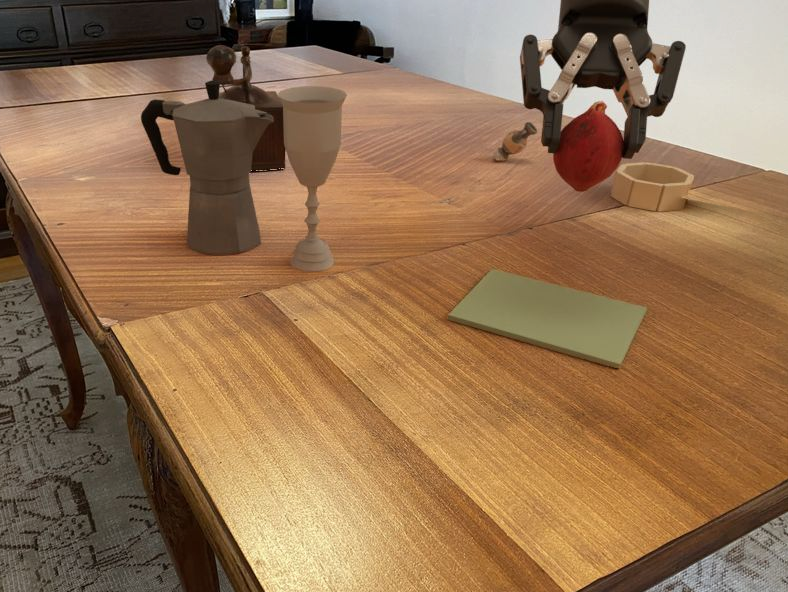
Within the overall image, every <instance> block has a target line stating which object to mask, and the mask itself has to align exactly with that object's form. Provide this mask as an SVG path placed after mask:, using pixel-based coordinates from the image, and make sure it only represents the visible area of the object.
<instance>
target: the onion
mask: <svg viewBox="0 0 788 592" xmlns="http://www.w3.org/2000/svg"><path fill="white" fill-rule="evenodd" d="M607 108H608V105H607V104H606V103H605V101H603V100H598V101H595V102H594V103H593V104H592V105H590V106H589V108H588V109H587V110H586V111H584V112H583V113H581V114H579V115H577V116H576V117H574V118H573V119H571V121H570V122H569V123H568V124H566V125H565V126H563V128H561V136H560V143H559V147H558V149H557V152H556V154H555V153H552V155H553V156H552V157H553V158H552V159H553V164H554V168H555V172H557V174H558V175H559V177H560V178H561V179H562V180H563V181H564V182H565V183H566V184H567V185H568V186H570V187H571V188H572V189H573V190H574V191H576V192H579V193H585V192H587V191H588V190H590V189H591V188H593V187H594V186H597V185H598V184H601V183H602V182H604V181H606V180H607V179H609V178H610V177H611V176H612V174H614V172H616V171H617V170H618V168H619V167H620V164H621V161H622V160H623V158H622V154H623V149H624V141H623V140H624V136H623V134H622V132H621V130H620V128H619V127H618V125H617V124H616V122H615V121H614V120H613V119H612V118H611V117H610V116H609V115H607V114H606V109H607Z"/></svg>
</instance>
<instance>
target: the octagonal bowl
mask: <svg viewBox="0 0 788 592" xmlns="http://www.w3.org/2000/svg"><path fill="white" fill-rule="evenodd" d="M694 179H695V175H693V174H692V173H689V172H688V171H685V170H684V169H682V168H679V167H678V166H677V167H676V166H673V165H666V164H661V163H654V162H648V161H647V162H643V161H642V162H630V163H623V164H621V165H619V166H618V167H617V169H616V170H615V173H614V178H613V181H612V187H611V191H610V197H611V198H613V199H614V200H616V201H618V202H619V203H621V204H622V205H624V206H627V207H631V208H636V209H641V210H645V211H650V212H651V211H652V212H659V213H660V212H661V213H662V212H669V211H670V212H671V211H682V210H684V208H685V207H686V205H687V203H688V201H689V199H688V198H684V197H686V196H688V195H689V194H690V191H691V189H692V187H693V183H694Z"/></svg>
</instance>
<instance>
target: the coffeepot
mask: <svg viewBox="0 0 788 592" xmlns="http://www.w3.org/2000/svg"><path fill="white" fill-rule="evenodd" d="M204 86H205V89H206V93H207V96H208V98H205V99H200V100H198V101H192V102H189V103H184V102H182V101H179V100H164V99H157V98H156V99H151V100H150V101H149V102H148V103H147V105H146V106H145V108H144V109H143V111H142V112H141V113H140V114H141V115H140V121H141V124H142V127H143V129H144V131H145V133H146V135H147V138H148V141H149V143H150V146H151V147H152V149H153V152H154V154H155V157H156V160H157V161H158V164H159V166H160V168H161V171H162V172H163V173H164V174H166V175H170V176H178V175H180V173H181V170H182V167H178V166H175V165H173V164H171V162H170V157H169V152H168V148H167V146H166V144H165V142H164V141H163V136H162V133H161V129H160V126H159V124H158V122H157V119H158V118H162V119H165V120H169V121H172V122H174V127H175V131H176V135H177V140H178V144H179V147H180V151H181V156H182V160H183V163H184V164H183V165H184V167H185V171H186V172H185V173H186V175H188V176H189V185H190V186H189V195H188V196H189V197H188V213H187V215H188V217H187V233H186V246H187V247H188V248H190V249H192V250H193V251H195V252H197V253H200V254H204V255H208V256H209V255H211V256H231V255H236V254H241V253H245V252H248V251H250V250H253V249H254V248H255V247H257V246H258V245H259V244H260V243H261V242H262V240H261V239H262V238H261V232H260V227H259V222H258V217H257V213H256V208H255V202H254V198H253V194H252V189H251V184H250V173H252V172H251V165H252V154H253V151H254V149H255V147H256V145H257V143H258V141H259V139H260V137H261V135H262V134H263V132H264V130H265V129H266V127H267V126H268V124H270V123H273V122H274V119H273V117H272V115H270V114H267V112H263V111H259V110H256V109H255V105H251V104H246V103H241V102H236V101H232V100H226V99H221V98H219V92H220V88H221V87H220V86H221V85H220V82H217V81H213V80H212V79H211V80H208V81H206V82H205V83H204Z"/></svg>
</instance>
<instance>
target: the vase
mask: <svg viewBox="0 0 788 592" xmlns="http://www.w3.org/2000/svg"><path fill="white" fill-rule="evenodd" d="M536 134H538V129H537V127H536V126H535V125H534V123H532V121H528V122H525V123H524V126H523V128H522V129H521V130H511V131H509V132H508V133H506V135H505V137H504V138H503V141H502V146H501V147H498V148H497V149H496V150H495V151H493V152H492V154H493V156H492V160H493V161H496V162H497V161H500V162H501V161H502V162H503V161H504V162H505V161H506V160H508V159H509V157H513V158H514V157H515V156H514V155H517V154H520V153H521V152H523V151H524V149H525V148H526V147H527V144H528V138H529V137H530V136H534V135H536Z"/></svg>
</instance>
